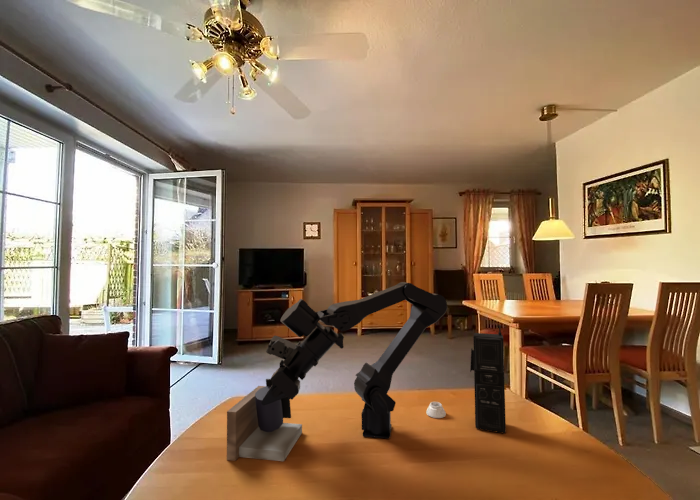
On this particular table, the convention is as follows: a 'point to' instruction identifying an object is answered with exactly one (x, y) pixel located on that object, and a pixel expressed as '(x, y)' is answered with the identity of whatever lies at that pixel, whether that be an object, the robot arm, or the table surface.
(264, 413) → the dark grey mug
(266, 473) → the table surface
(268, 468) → the table surface
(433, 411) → the lidless jar
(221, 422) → the table surface
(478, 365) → the portable radio
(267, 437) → the wall board
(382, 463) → the table surface
